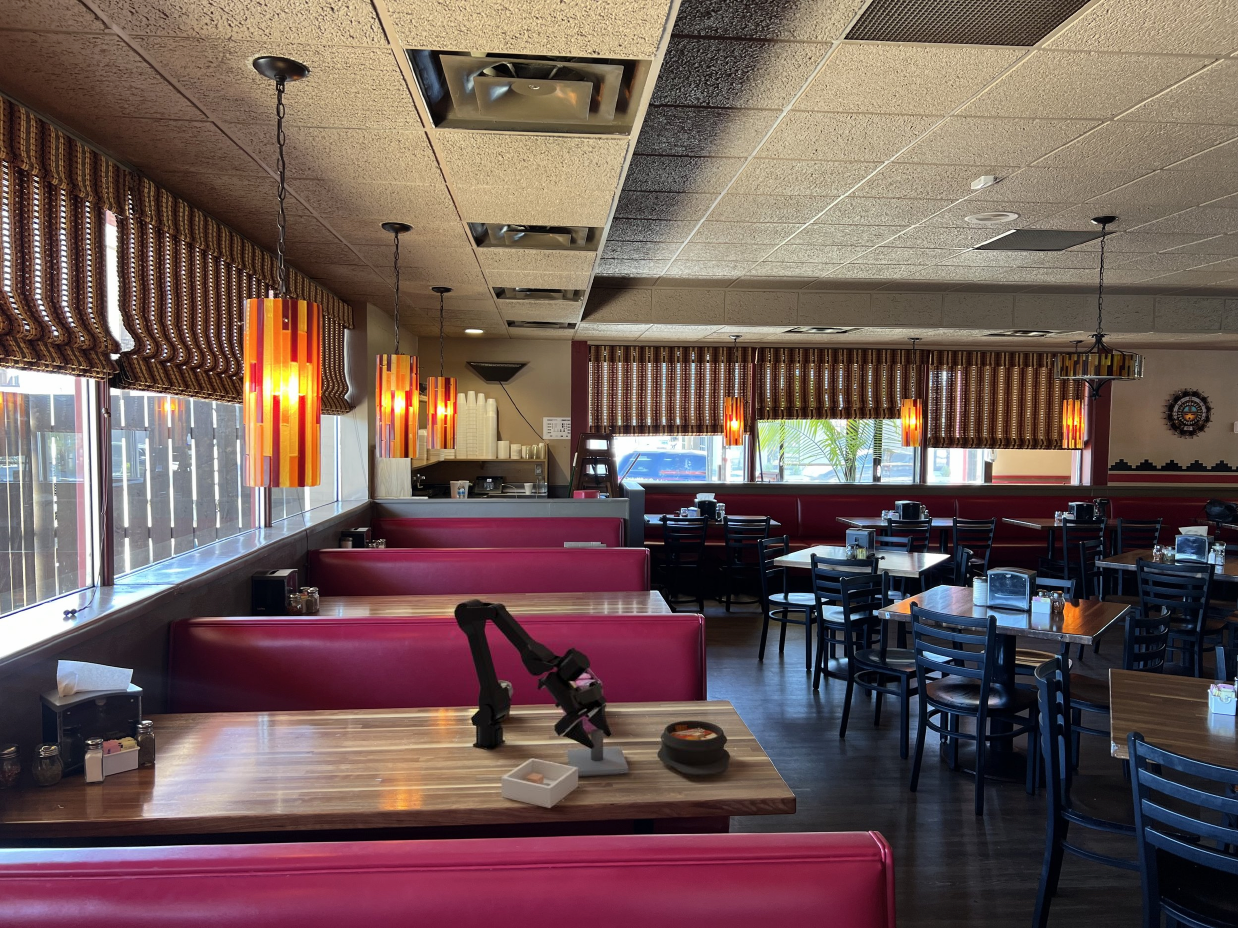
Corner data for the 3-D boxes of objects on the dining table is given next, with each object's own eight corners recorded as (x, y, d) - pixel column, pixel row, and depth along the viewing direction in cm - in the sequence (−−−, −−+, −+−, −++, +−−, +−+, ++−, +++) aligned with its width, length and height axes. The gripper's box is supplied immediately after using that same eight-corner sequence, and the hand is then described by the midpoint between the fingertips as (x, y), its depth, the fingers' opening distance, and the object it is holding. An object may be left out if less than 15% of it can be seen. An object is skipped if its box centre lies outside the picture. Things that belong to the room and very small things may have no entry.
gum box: (558, 706, 258) (558, 662, 258) (583, 704, 261) (583, 661, 260) (576, 733, 236) (576, 685, 235) (603, 730, 238) (603, 683, 237)
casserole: (647, 746, 226) (647, 715, 225) (713, 742, 229) (713, 711, 229) (670, 785, 201) (670, 750, 201) (744, 779, 205) (744, 745, 204)
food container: (505, 727, 240) (505, 693, 239) (484, 726, 241) (484, 691, 241) (518, 713, 252) (518, 680, 251) (499, 712, 253) (499, 679, 253)
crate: (501, 796, 194) (501, 777, 194) (531, 776, 206) (531, 757, 206) (549, 807, 188) (549, 788, 188) (578, 786, 200) (578, 767, 200)
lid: (571, 779, 204) (571, 742, 204) (567, 757, 218) (567, 722, 218) (628, 776, 206) (628, 739, 206) (620, 754, 220) (620, 720, 220)
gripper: (564, 682, 205) (605, 734, 200) (600, 664, 221) (638, 711, 217) (537, 709, 208) (576, 761, 204) (574, 689, 225) (610, 736, 221)
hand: (601, 741), depth 211 cm, fingers open, 9 cm apart
